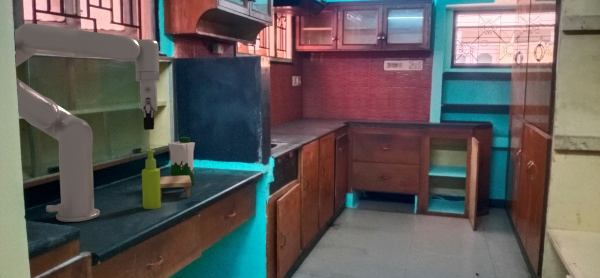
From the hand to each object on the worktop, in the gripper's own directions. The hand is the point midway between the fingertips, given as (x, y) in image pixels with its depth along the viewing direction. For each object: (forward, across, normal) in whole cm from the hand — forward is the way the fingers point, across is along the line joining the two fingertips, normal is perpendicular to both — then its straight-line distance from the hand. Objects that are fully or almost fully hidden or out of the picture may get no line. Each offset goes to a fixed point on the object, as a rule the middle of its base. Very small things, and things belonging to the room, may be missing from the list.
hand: (149, 127), depth 162 cm
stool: (+28, +15, -8) cm, 32 cm away
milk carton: (+28, +30, -12) cm, 42 cm away
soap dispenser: (+28, 0, 0) cm, 28 cm away
